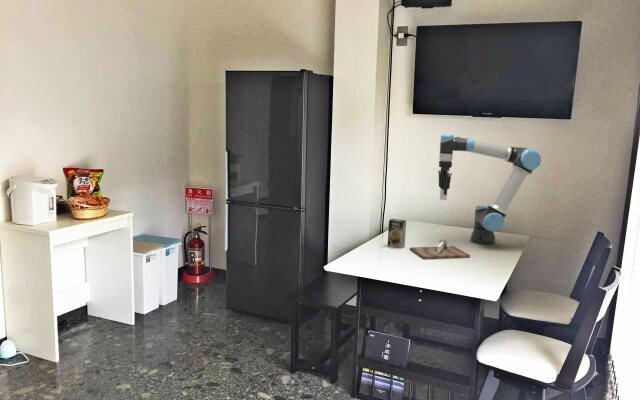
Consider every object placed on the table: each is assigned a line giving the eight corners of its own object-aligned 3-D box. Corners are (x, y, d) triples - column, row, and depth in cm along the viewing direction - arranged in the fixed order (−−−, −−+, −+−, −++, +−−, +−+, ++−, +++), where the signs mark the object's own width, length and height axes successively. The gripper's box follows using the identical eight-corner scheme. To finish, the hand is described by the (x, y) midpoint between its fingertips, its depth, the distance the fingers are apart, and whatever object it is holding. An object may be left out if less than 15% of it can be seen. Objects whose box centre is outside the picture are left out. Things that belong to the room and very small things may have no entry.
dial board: (453, 248, 322) (453, 245, 322) (469, 257, 303) (470, 254, 303) (409, 249, 316) (409, 246, 316) (423, 259, 297) (423, 256, 297)
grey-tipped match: (439, 246, 319) (440, 239, 318) (447, 247, 317) (447, 240, 317) (434, 252, 305) (435, 245, 305) (442, 253, 304) (442, 246, 303)
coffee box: (387, 246, 323) (388, 220, 320) (390, 244, 329) (392, 218, 326) (401, 248, 319) (403, 221, 316) (405, 246, 324) (406, 220, 322)
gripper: (434, 159, 326) (432, 197, 330) (445, 161, 312) (443, 202, 316) (445, 159, 328) (443, 197, 332) (457, 162, 314) (454, 201, 318)
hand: (443, 199), depth 324 cm, fingers open, 2 cm apart
